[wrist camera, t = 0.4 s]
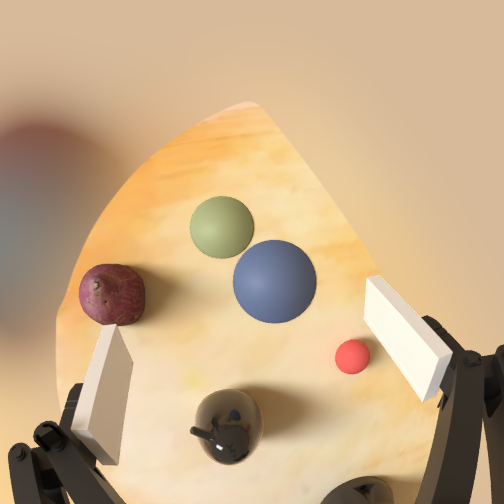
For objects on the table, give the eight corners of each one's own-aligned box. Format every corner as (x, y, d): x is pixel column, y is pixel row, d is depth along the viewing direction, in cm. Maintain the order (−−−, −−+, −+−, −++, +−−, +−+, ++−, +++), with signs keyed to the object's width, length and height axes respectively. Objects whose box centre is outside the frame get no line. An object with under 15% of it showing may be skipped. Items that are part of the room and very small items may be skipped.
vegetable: (136, 260, 52) (124, 223, 38) (156, 317, 50) (148, 299, 36) (80, 279, 48) (51, 249, 35) (98, 337, 46) (70, 326, 32)
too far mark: (266, 227, 51) (266, 227, 50) (220, 271, 49) (220, 271, 49) (222, 184, 51) (222, 184, 51) (177, 226, 50) (177, 226, 50)
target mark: (331, 281, 50) (331, 281, 50) (274, 340, 48) (274, 340, 48) (275, 223, 51) (275, 223, 51) (215, 280, 49) (215, 280, 49)
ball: (367, 352, 49) (381, 358, 44) (345, 376, 48) (357, 384, 43) (347, 331, 49) (360, 334, 44) (324, 355, 49) (334, 362, 43)
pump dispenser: (218, 370, 47) (212, 401, 32) (273, 402, 47) (289, 442, 32) (185, 417, 46) (168, 460, 31) (239, 447, 46) (241, 497, 31)
